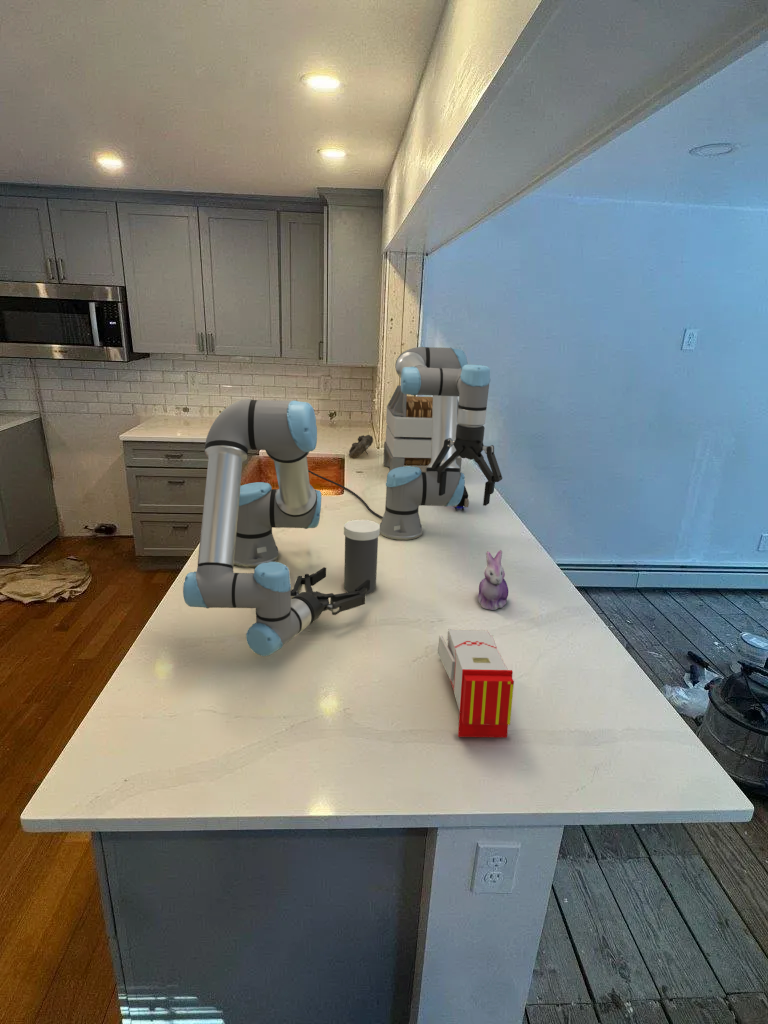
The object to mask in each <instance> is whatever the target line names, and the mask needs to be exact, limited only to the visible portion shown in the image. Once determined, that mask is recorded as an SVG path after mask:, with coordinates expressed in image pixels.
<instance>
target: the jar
mask: <svg viewBox="0 0 768 1024" xmlns="http://www.w3.org/2000/svg"><path fill="white" fill-rule="evenodd" d="M378 545H379V536H378V537H377V538H375V539H372V540H365V541H361V540H353V539H350V538H348V537H346V536H345V535H344V568H343V569H344V570H343V571H344V573H343V589H344V591H345V592H346V593H348V592H355V589H356V588H357V587H359V586H360V585H361V584H362V583H364V582H365V581H366V580H367V579H368V580H370V589H369V590H368V591H367V594H366V595H370V594H373V593H374V592H375V591H376V589H377V575H378V574H377V569H378V551H379V550H378V548H379V547H378ZM366 595H365V596H366Z"/></svg>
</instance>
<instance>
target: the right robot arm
mask: <svg viewBox="0 0 768 1024" xmlns="http://www.w3.org/2000/svg"><path fill="white" fill-rule="evenodd" d="M394 367H395V372H396V374H397V375H398V377H399V378H400V386H401V392H402V393H403V394H407V395H408V396H432V397H433V407H432V442H431V463H430V464H429V465H428V466H425V467H426V468H425V470H426V471H422V469H421V468H420V466H407V465H404V467H398V468H395V469H392V470H391V471H390V470H388V473H387V475H386V482H385V487H386V488H385V489H386V490H385V504H384V505H385V507H384V508H385V509H384V513H383V515H380V514H379V513H376V512H375V511H374V510H373V509H371V508H370V506H369V505H368V503H367V502H366V501H365V500H364V499H363V498H362V497H361V496H360V495H358V494H357V493H355V492H354V491H353V490H351V489H350V488H347V487H346V486H344V485H342V484H339V483H338V482H335V481H334V480H331V479H329V478H326V477H324V476H321V475H319V474H318V473H315V472H314V471H312V470H310V469H308V473H310V474H312V475H313V476H315V477H318V478H320V479H321V480H325V481H326V482H329V483H330V484H334V485H336V486H337V487H340V488H342V489H343V490H345V491H347V492H349V493H350V494H352V495H354V496H355V497H356V498H358V499H359V500H360V502H362V504H363V505H364V506H365V507H366V508H367V510H368V511H369V512H370V513H372V514H373V515H374V516H376V517H377V518H379V519H381V522H379V525H380V535H381V536H382V537H385V538H387V539H389V540H395V541H410V540H415V539H418V538H420V537H421V536H422V535H423V525H422V524H421V518H420V515H419V507H420V506H424V507H425V506H427V507H453V506H456V505H458V504H459V503H460V501H461V498H462V495H463V491H464V486H466V485H465V484H466V480H465V478H466V477H465V474H464V473H463V472H461V473H460V467H459V466H458V465H457V464H456V459H457V458H458V457H459V456H460V457H461V458H462V459H467V460H471V461H472V460H473V461H474V462H475V463H476V465H478V467H479V469H480V470H481V472H482V474H483V475H484V477H485V478H486V480H487V481H486V482H485V484H484V493H483V501H482V506H485V507H486V506H488V505H489V504H490V502H491V501H490V500H491V495H492V494H494V492H495V487H496V483H499V482H501V481H502V480H503V475H502V472H501V469H500V466H499V463H498V461H497V458H496V455H495V445H494V444H490V445H484V437H485V426H484V425H485V424H486V420H487V419H486V418H487V408H488V400H489V389H490V383H491V368H490V367H489V366H487V365H483V364H468V358H467V355H466V353H465V351H464V349H461V348H456V347H455V348H454V347H434V346H433V347H431V346H430V347H428V346H417V347H411V348H409V349H407V350H405V351H403V352H402V353H400V354H399V356H397V358H396V361H395V365H394ZM457 401H458V402H459V405H458V415H457ZM457 422H458V423H459V424H458V425H457ZM483 451H484V453H485V454H486V457H487V461H488V464H489V465H488V464H487V461H486V460H485V458H484V455H483V453H482V452H483Z"/></svg>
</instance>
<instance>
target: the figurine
mask: <svg viewBox="0 0 768 1024" xmlns="http://www.w3.org/2000/svg"><path fill="white" fill-rule="evenodd" d="M485 556H486V567H485V569H484V572H483V575H484V578H483V579H481V580H480V581H479V583H478V584H479V585H478V594H477V602H478V603H479V604H480V607H481V608H483V609H486V610H490V611H491V610H492V611H495V610H498V609H501V608H503V607H505V605H506V604H507V600H508V597H509V586H508V583H507V581H506V580H505V577H506V572H505V570H504V567H503V565H502V558H503V551H502V550H501V549H500V550H498V551H497V552H496V554H495V557H494V556H493V555H492V553H491V552H490V551H489V550H488V551H486V552H485Z"/></svg>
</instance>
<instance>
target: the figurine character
mask: <svg viewBox="0 0 768 1024" xmlns="http://www.w3.org/2000/svg"><path fill="white" fill-rule="evenodd" d="M469 505H470V500H469V492H468V490H467V488H466V485H464V491H463V495H462V498H461V501H460V503H459V504H458V505H456V506H452V507H453V508H454V511H456V512H457V511H458V509H461V511H462V512H464V511H465V508H469Z"/></svg>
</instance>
